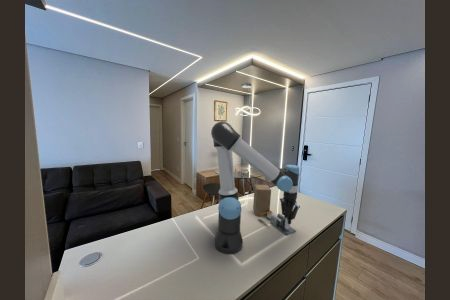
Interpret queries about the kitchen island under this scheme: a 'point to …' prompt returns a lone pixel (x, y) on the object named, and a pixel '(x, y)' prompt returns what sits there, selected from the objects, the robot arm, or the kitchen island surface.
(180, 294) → the kitchen island surface
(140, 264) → the kitchen island surface
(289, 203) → the robot arm
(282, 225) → the gauge slider with pointer
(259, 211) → the wooden block
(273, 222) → the gauge housing
